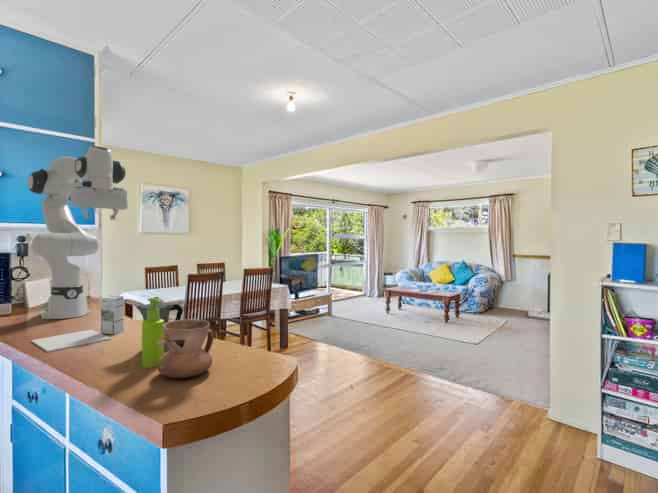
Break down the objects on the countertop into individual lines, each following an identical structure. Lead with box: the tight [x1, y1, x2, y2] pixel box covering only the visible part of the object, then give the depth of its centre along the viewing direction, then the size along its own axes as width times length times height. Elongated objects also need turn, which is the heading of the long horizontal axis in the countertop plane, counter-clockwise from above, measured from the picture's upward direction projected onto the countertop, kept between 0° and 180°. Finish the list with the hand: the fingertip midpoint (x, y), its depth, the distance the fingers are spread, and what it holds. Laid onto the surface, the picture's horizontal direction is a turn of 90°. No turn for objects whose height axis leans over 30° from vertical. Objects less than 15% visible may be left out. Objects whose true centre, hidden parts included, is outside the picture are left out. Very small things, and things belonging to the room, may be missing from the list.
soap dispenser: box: [141, 297, 165, 369], centre depth 105 cm, size 6×7×20 cm
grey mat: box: [30, 329, 112, 353], centre depth 127 cm, size 18×19×1 cm
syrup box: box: [100, 294, 125, 336], centre depth 138 cm, size 6×6×14 cm
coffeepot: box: [135, 296, 184, 353], centre depth 118 cm, size 15×9×18 cm, turn 92°
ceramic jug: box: [156, 318, 215, 379], centre depth 99 cm, size 18×14×14 cm
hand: (100, 219), depth 145 cm, fingers open, 8 cm apart
